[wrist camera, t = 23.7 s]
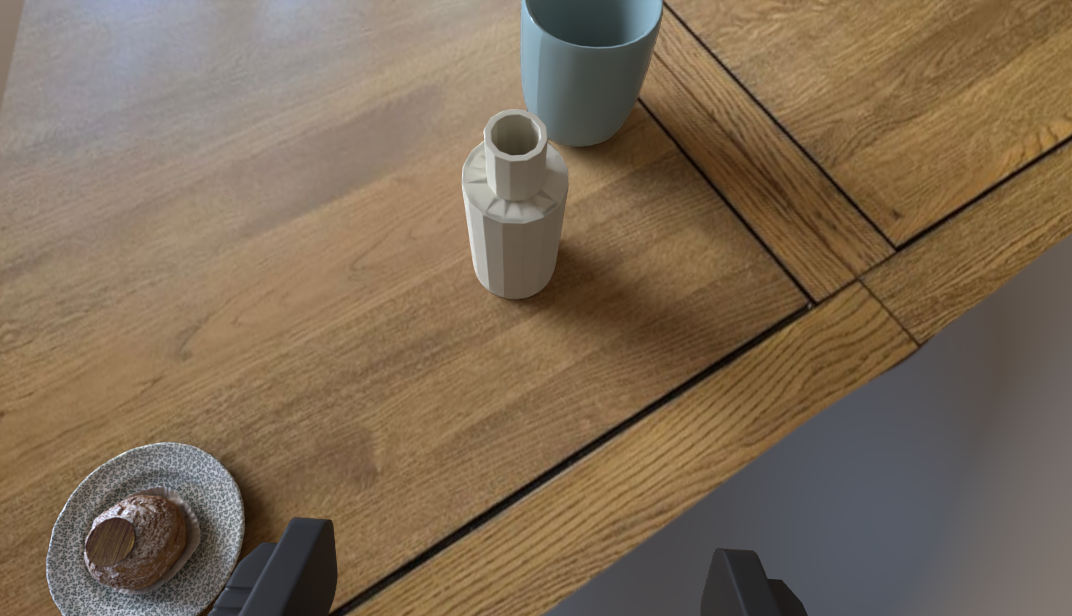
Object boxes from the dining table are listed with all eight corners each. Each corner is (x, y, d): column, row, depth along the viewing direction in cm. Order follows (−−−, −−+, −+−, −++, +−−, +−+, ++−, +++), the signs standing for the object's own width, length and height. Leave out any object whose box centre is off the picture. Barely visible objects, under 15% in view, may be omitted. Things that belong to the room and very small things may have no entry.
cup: (517, 164, 50) (519, 48, 38) (519, 72, 53) (521, -60, 41) (633, 167, 50) (671, 53, 38) (627, 75, 53) (660, -55, 42)
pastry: (37, 505, 39) (-23, 502, 34) (212, 412, 41) (177, 398, 37) (92, 683, 35) (33, 705, 31) (280, 569, 38) (250, 574, 33)
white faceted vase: (567, 244, 47) (592, 111, 32) (535, 312, 45) (546, 203, 30) (495, 215, 48) (487, 71, 33) (460, 280, 46) (435, 158, 31)
